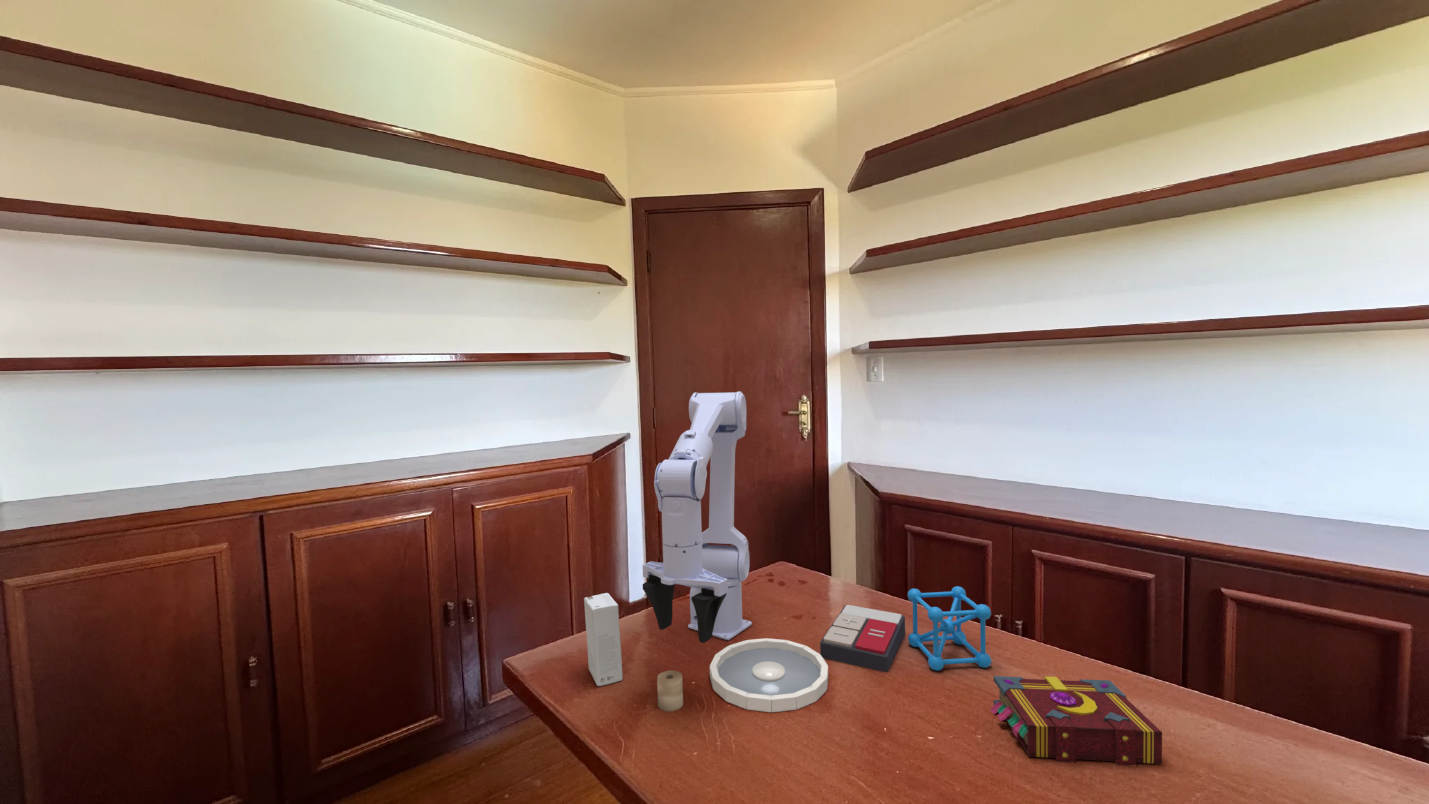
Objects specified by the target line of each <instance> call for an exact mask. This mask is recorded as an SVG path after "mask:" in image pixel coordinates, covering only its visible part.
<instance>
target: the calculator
mask: <svg viewBox="0 0 1429 804" xmlns="http://www.w3.org/2000/svg"><path fill="white" fill-rule="evenodd" d="M905 636H906V616H905V615H902V614H900V613H897V612H890V611H885V610H880V609H873V608H868V607H867V608H866V607H861V606H857V605H851V604H846V605H844V606H843V607H842V609H841V611H840V612H839V614H838V615H837V616H836V618H835V620H833V622H832V624H831V625H830V627H829V628H828V629H827V631H826V632H825V635H824V636H823V637H822V639H821V640H820V642H819V644H820V645H819V649H820V651H819V652H820V653H819V654H820V655H821V656H822V658H823V659H824V660H825V659H826V660H830V661H833V662H838V663H844V664H848V665H850V666H851V665H852V666H855V667H856V666H857V667H861V668H864V669H870V670H874V671H878V672H882V673H889V671H890V669H891V666H892V664H893V662H894V659H895V657H896V654H897V652H898V650H899V648H900V645H901V644H902V642H903V641H904V638H905Z"/></svg>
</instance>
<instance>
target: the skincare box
mask: <svg viewBox="0 0 1429 804" xmlns="http://www.w3.org/2000/svg"><path fill="white" fill-rule="evenodd" d="M583 603H584V604H583V605H584V616H585V617H584V619H585V632H586V644H587V645H586V646H587V663H588V670H589V672H590V675H591V677H592V678H593V680H594V683H595V684H596V687H601V686H607V685H610V684H614V683H617V682H618V683H619V682H620V681H623V678H624V677H623V664H622V662H623V661H622V648H621V647H622V646H621V644H622V643H621V632H620V617H619V616H620V615H619V604H618V603H617V602H616V601H615V600H614V598H613V596H611V595H610V593H608V592H605V593H600V594H595V595H591V596H588V597H587V596H586V597H584V598H583Z"/></svg>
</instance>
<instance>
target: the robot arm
mask: <svg viewBox="0 0 1429 804" xmlns="http://www.w3.org/2000/svg"><path fill="white" fill-rule="evenodd" d="M688 415H689V420H690V422H691V425H690V428H689V429H688V430H686V431H684V432H683V433H681V435H680V436H679V438H678V439H677V442H676V444H675V446H674V447H673V450H672V452H671V453H670V455H669V458H668V459H664V460H663V461H662V462H659V463H658V464H657V465H656V469H655V472H654V482H653V487H654V492H655V495H656V498H657V508H658V511H659V512H661V528H662V529H661V531H662V532H661V534H662V536H661V537H662V559H663V560H662V562H658V561H654V560H653V561H648V562H646V563H643V564H642V577H643V578H645V579H647V581H646V582H643V583H642V590H643V591H644V593H645V595H646V596H647V598H648V600H649V602H650V604H651V607H652V608H653V613H654V614H655V619H656V621H657V625H658V629H659V630H661V631H663V630H665V629H667V628H668V627H671V626H672V624H673V623H672V622H673V599H674V592H675V586H676V585H681V586H685V587H689V588H690V591H689V613H690V623H689V624H688V625H687V627H688V629H691V630H695V631H697V637H698V641H699V643H700V644H705V643H707V642H708V641H710V640H712V637H716V638H719V639H722V640H725V641H730V640H731V639H732V638H734V637H735V636H737V635H738V634H740V633H742V632H743V631H744V630H746V629H748V628H749V627H750V626H751V625H753V623H752V621H750V620H747V619H743V599H742V598H743V597H742V596H743V595H742V582H744V581H746V580H747V578H748V576H749V572H750V563H751V562H750V561H751V560H750V550H749V541H748V539H747V537H746V536H745V535H744V534H743V533H742V532H740V531H739V530H738V529H737V528H736V527H735V525H734V524H735V473H736V471H735V470H736V469H735V468H736V467H735V466H736V448H737V442H738V440H739V439H742V438H743V437H745V436H746V431H747V400H746V396H745V394H743V392H742V391H736V392H733V391H732V392H700V393H699V392H698V391H697V392H693V394H692V395H691V396H690V398H689V402H688ZM709 461H710V463H709ZM708 464H710V466H709V467H710V469H709V501H708V502H709V505H708V506H709V507H708V509H709V511H708V512H709V513H708V528H706V529H705V530H704V531H702V529H703V528H702V502H701V501H702V499H703V497H704V495H705V492H706V491H705V490H706V481H707V476H708V471H707V466H708ZM723 544H724V545H723ZM725 544H727V545H725ZM729 544H730V545H729Z"/></svg>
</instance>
